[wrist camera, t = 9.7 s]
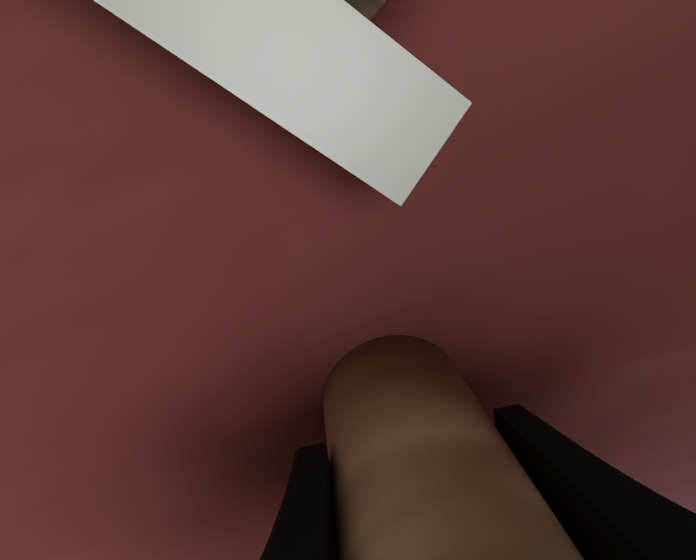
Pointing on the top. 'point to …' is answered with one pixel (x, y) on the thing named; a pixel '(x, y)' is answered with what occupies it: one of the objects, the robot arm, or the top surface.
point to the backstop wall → (315, 78)
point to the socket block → (366, 6)
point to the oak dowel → (426, 465)
